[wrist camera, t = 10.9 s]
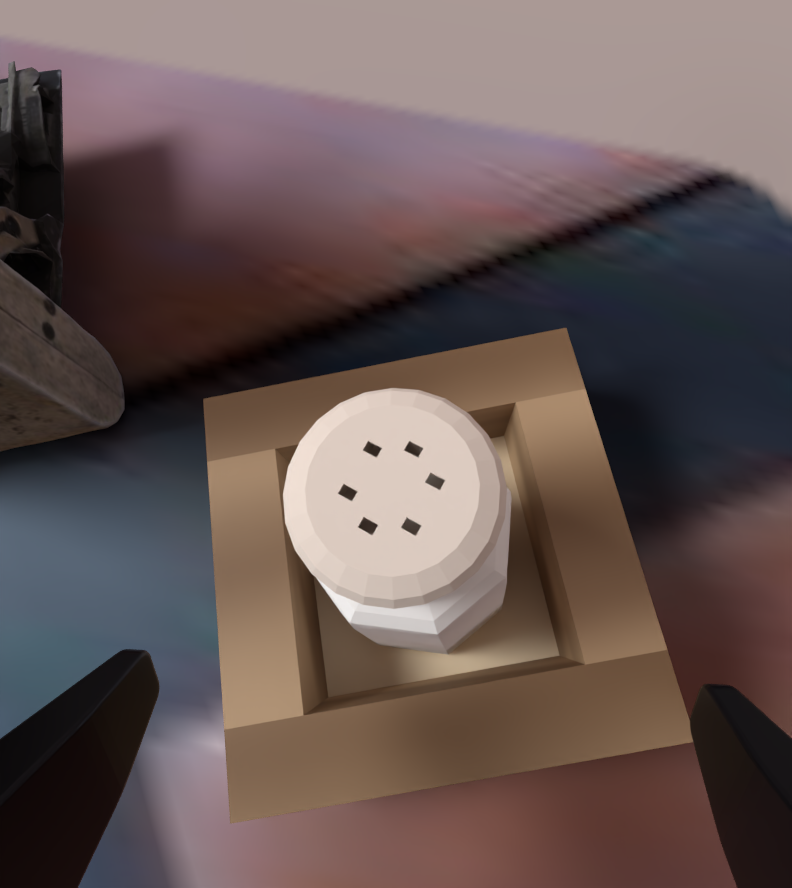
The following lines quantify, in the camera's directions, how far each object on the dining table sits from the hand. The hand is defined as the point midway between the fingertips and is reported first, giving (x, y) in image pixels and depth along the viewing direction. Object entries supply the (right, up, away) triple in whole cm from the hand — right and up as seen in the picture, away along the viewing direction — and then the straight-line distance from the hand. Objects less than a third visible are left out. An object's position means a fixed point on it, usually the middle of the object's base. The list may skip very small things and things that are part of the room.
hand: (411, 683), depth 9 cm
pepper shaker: (+1, 0, +8) cm, 8 cm away
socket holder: (+1, 0, +9) cm, 9 cm away
